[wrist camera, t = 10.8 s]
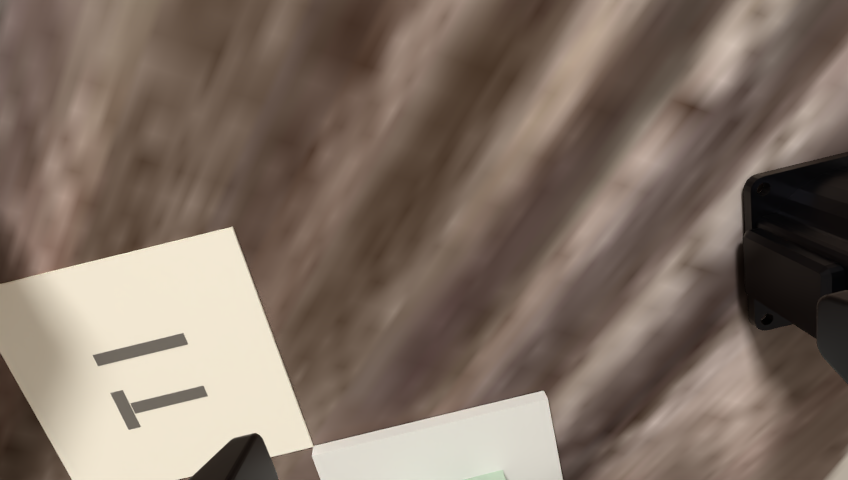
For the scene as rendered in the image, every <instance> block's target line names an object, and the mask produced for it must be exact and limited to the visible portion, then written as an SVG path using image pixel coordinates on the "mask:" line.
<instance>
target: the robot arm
mask: <svg viewBox="0 0 848 480" xmlns="http://www.w3.org/2000/svg"><path fill="white" fill-rule="evenodd" d="M762 183H763V189H762V190H761V192H759V193H757V188H758V187H759V185H760V184H762ZM744 211H745V235H744V237H743V249H744V273H745V292H746V293H747V294H748V314H749V321H750V322H751V323H752V325H754V326H755V327H757V328H758V329H760V330H770V329H774V328H778V327H782V326H786V325H791V324H794V325H796V326H797V327H799V328H800V329H802V330H804V331H805V332H807V333H808V334H810V335H811V336H813V337H814V338H816V339H817V345H818V349H819V351H820V353H821V355H822V356H823V358H824V359H825V360H826V361H827V362H828V363H829V364H830V365H831V366H832V368H833V369H834V370H835V371H836V372H837V373H838V374H839V375H840V376H841V377H842V378H843V379H844V381H845V382H846V383H847V384H848V152H845V153H841V154H837V155H833V156H829V157H825V158H821V159H817V160H813V161H808V162H804V163H800V164H796V165H792V166H788V167H784V168H780V169H776V170H772V171H768V172H763V173H759V174H756V175H753V176H751V177H750V178H749V179H748V180H747V181H746V183H745V185H744ZM765 314H767V315H766V317H765V318H764V319H763V320H761V318H762V317H763V316H764V315H765ZM189 480H278V476H277V473H276V470H275V467H274V465H273V462H272V460H271V458H270V455H269V453H268V450H267V448H266V445H265V443H264V440H263V438H262V437H261V436H260V435H259V434H257V433H252V434H248V435H244V436H240V437H236V438H233V439H231V440H230V441H229V442H228V443H227V444H226V445H225V446H224V447H223V448H222V449H221V450H219V451H218V452H217V453H216V454H215V455H214V456H213V457H212V458H211V459H210V460H209V461H208V462H207V463H206V464H205V465H204V466H203V467H201V468H200V469H199V470H198V471H197V472H196V473H195V474H194V475H193V476H192V477H191V478H190V479H189Z"/></svg>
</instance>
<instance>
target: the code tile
mask: <svg viewBox="0 0 848 480" xmlns="http://www.w3.org/2000/svg"><path fill="white" fill-rule="evenodd" d="M0 353H1V355H2V357H3V358H4V360H5V362H6V364H7V365H8V367H9V369H10V371H11V373H12V374H13V376H14V378H15V380H16V381H17V383H18V385H19V387H20V388H21V390H22V392H23V394H24V396H25V397H26V399H27V401H28V403H29V404H30V406H31V408H32V410H33V411H34V413H35V415H36V417H37V419H38V420H39V422H40V424H41V426H42V427H43V429H44V431H45V433H46V434H47V436H48V438H49V440H50V442H51V443H52V445H53V447H54V449H55V450H56V452H57V454H58V456H59V457H60V459H61V461H62V463H63V465H64V466H65V468H66V470H67V472H68V473H69V475H70V477H71V479H72V480H179V479H183V478H187V477H191V476H193V475H194V474H195V473H196V472H197V471H198V470H199V469H200V468H201V467H203V466H204V465H205V464H206V463H207V462H208V461H209V460H210V459H211V458H212V457H213V456H214V455H215V454H216V453H217V452H218V451H219V450H221V449H222V448H223V447H224V446H225V445H226V444H227V443H228V442H229V441H230V440H231V439H233V438H236V437H240V436H244V435H248V434H252V433H257V434H259V435H260V436H261V437H262V438H263V440H264V443H265V445H266V448H267V450H268V453H269V455H270V457H274V456H278V455H282V454H286V453H290V452H295V451H299V450H303V449H307V448H311V447H314V445H313V442H312V439H311V436H310V434H309V431H308V428H307V426H306V423H305V420H304V418H303V415H302V412H301V409H300V407H299V404H298V401H297V399H296V396H295V393H294V390H293V388H292V385H291V382H290V380H289V377H288V374H287V371H286V369H285V366H284V363H283V361H282V358H281V355H280V352H279V350H278V347H277V344H276V342H275V339H274V336H273V333H272V331H271V328H270V325H269V323H268V320H267V317H266V314H265V312H264V309H263V306H262V304H261V301H260V298H259V296H258V293H257V290H256V287H255V285H254V282H253V279H252V277H251V274H250V271H249V268H248V266H247V263H246V260H245V258H244V255H243V252H242V249H241V247H240V244H239V241H238V239H237V236H236V233H235V230H234V228H233V227H230V228H226V229H222V230H218V231H214V232H210V233H205V234H201V235H197V236H193V237H189V238H185V239H181V240H177V241H173V242H169V243H165V244H161V245H157V246H153V247H148V248H144V249H140V250H136V251H132V252H128V253H124V254H120V255H116V256H112V257H108V258H104V259H100V260H96V261H92V262H87V263H83V264H79V265H75V266H71V267H67V268H63V269H59V270H55V271H51V272H47V273H43V274H39V275H35V276H30V277H26V278H22V279H18V280H14V281H10V282H6V283H2V284H0Z"/></svg>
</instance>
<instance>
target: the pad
mask: <svg viewBox="0 0 848 480" xmlns="http://www.w3.org/2000/svg"><path fill="white" fill-rule="evenodd" d="M312 458H313V461H314V463H315V466H316V469H317V471H318V474H319V477H320V479H321V480H464V479H468V478H472V477H476V476H480V475H484V474H488V473H492V472H496V471H500V470H503V472H504V476H505V479H506V480H563V478H562V472H561V467H560V462H559V456H558V451H557V446H556V440H555V435H554V430H553V424H552V419H551V414H550V408H549V403H548V398H547V396H546V394H545V392H544V391H540V392H536V393H532V394H528V395H523V396H519V397H515V398H511V399H507V400H503V401H499V402H494V403H490V404H486V405H482V406H478V407H474V408H470V409H465V410H461V411H457V412H453V413H449V414H445V415H441V416H436V417H432V418H428V419H424V420H420V421H416V422H412V423H407V424H403V425H399V426H395V427H391V428H387V429H383V430H378V431H374V432H370V433H366V434H362V435H358V436H354V437H349V438H345V439H341V440H337V441H333V442H329V443H325V444H320V445H316V446H314V447H313V452H312Z"/></svg>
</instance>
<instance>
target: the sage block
mask: <svg viewBox="0 0 848 480" xmlns="http://www.w3.org/2000/svg"><path fill="white" fill-rule="evenodd" d="M464 480H506V479H505V476H504V472H503V470H500V471H496V472H492V473H488V474H484V475H480V476H476V477H472V478H468V479H464Z"/></svg>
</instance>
